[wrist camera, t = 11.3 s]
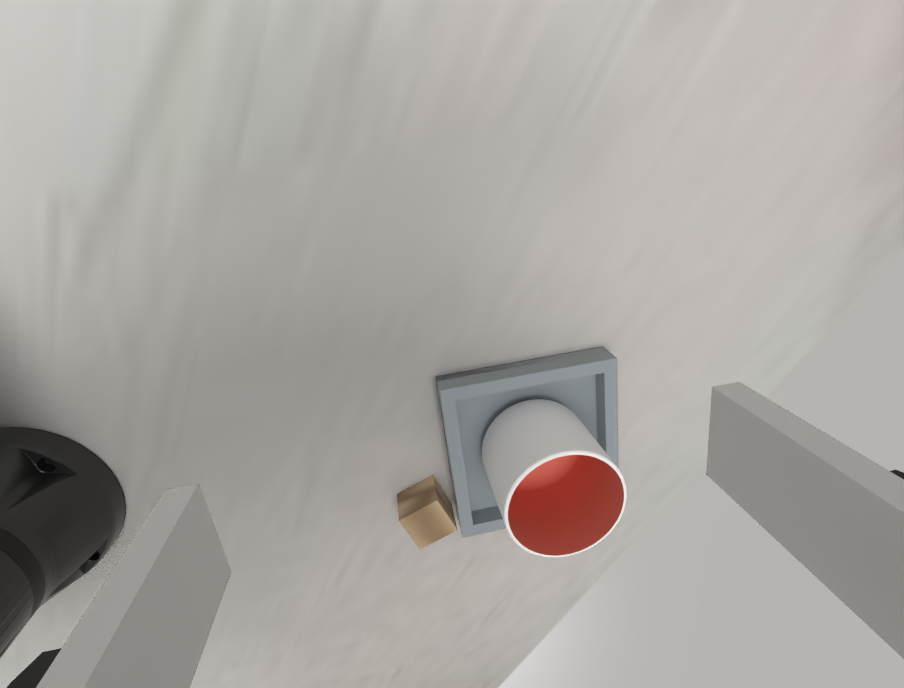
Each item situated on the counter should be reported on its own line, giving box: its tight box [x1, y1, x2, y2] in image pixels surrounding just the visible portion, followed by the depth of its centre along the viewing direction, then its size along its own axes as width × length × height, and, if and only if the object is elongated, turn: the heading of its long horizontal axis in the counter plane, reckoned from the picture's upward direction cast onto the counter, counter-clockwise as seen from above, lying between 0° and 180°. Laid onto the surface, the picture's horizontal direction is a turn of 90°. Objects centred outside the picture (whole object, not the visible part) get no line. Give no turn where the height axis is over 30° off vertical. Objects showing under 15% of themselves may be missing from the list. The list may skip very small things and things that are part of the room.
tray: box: [436, 347, 619, 537], centre depth 47 cm, size 16×16×3 cm
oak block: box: [397, 475, 457, 549], centre depth 48 cm, size 4×4×4 cm
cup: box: [482, 399, 627, 557], centre depth 43 cm, size 10×10×10 cm
